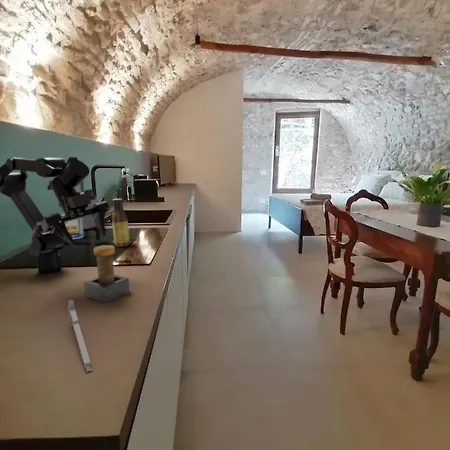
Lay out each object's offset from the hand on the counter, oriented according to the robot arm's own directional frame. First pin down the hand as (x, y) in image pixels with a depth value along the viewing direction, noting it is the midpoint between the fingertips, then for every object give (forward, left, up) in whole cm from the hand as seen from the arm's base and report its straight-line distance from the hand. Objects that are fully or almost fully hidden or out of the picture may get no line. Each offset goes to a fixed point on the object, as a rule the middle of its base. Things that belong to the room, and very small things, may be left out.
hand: (90, 241), depth 94 cm
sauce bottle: (+17, +39, -13) cm, 44 cm away
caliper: (-8, -34, -13) cm, 37 cm away
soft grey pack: (+11, +84, -13) cm, 86 cm away
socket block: (+2, -11, -13) cm, 17 cm away
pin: (+2, -11, -13) cm, 17 cm away
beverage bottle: (+1, +65, -13) cm, 66 cm away
